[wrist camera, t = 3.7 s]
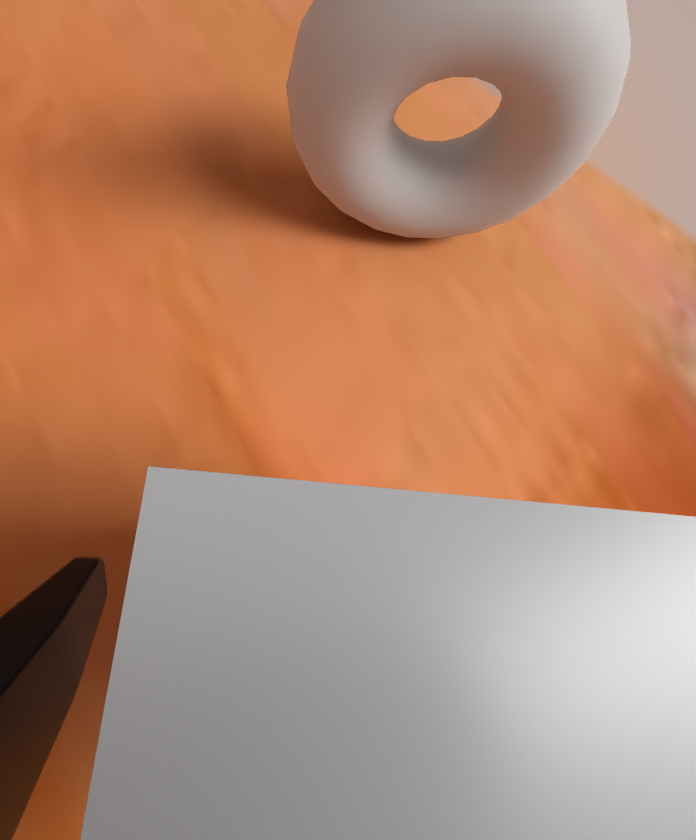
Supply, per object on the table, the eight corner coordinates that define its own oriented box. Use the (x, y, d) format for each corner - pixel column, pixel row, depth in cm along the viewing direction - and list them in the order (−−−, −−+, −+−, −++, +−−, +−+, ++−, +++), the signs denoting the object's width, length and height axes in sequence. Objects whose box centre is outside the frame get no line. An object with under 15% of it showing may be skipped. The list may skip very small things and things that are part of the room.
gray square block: (381, 698, 15) (965, 1489, 2) (220, 694, 14) (-93, 1786, 2) (388, 536, 16) (797, 526, 4) (241, 525, 15) (149, 466, 3)
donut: (511, 199, 21) (722, -92, 11) (516, 268, 20) (750, 17, 10) (283, 165, 19) (302, -207, 10) (278, 239, 18) (293, -90, 9)
